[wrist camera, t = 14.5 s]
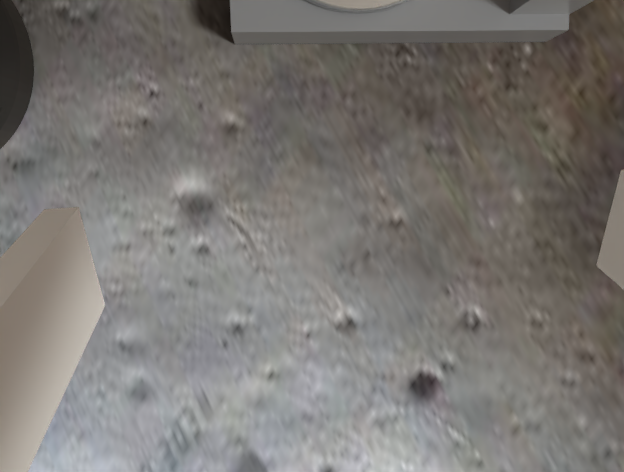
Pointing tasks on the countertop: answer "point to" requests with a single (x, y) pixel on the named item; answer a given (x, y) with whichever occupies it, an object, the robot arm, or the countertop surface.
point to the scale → (401, 22)
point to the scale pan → (357, 5)
